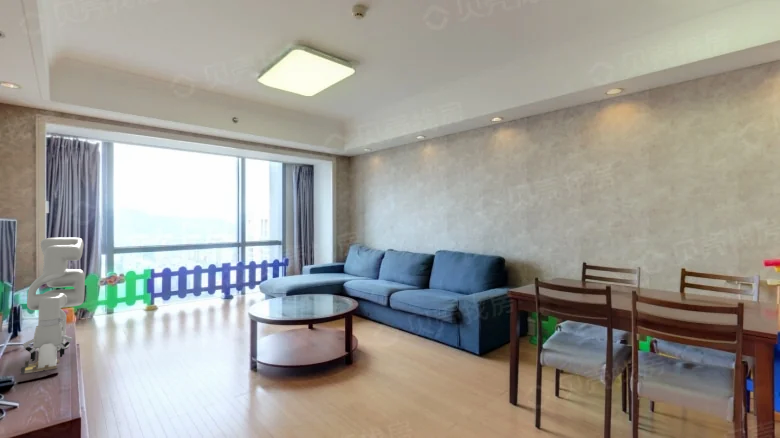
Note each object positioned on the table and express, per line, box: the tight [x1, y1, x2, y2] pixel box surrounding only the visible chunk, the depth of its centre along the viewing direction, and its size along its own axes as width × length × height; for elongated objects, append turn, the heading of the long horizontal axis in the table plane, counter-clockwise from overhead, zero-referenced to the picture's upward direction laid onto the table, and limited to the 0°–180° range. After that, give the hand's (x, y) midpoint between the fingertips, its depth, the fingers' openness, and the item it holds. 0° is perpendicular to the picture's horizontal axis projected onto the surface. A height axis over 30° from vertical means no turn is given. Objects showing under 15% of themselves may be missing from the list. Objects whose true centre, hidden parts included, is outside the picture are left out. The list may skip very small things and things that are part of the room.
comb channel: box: [20, 359, 60, 375], centre depth 172 cm, size 9×12×3 cm
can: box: [37, 343, 58, 368], centre depth 173 cm, size 6×6×12 cm
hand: (47, 358), depth 173 cm, fingers open, 9 cm apart
